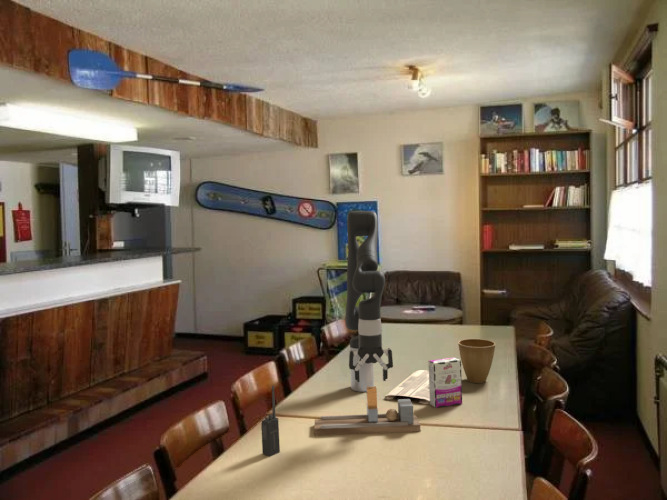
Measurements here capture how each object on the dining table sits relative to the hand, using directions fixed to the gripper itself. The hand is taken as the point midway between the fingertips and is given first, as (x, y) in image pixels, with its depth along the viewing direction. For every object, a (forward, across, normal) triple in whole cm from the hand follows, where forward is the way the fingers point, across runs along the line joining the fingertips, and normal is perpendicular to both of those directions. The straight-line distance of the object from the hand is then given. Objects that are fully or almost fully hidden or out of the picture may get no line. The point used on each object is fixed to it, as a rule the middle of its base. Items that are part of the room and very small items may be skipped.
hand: (371, 380), depth 188 cm
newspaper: (+17, -23, -41) cm, 50 cm away
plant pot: (+16, -48, -48) cm, 70 cm away
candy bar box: (+16, -29, -20) cm, 39 cm away
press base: (+16, +2, 0) cm, 16 cm away
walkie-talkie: (+16, +32, +17) cm, 40 cm away
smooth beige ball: (+12, -7, 0) cm, 13 cm away
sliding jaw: (+13, 0, 0) cm, 13 cm away
